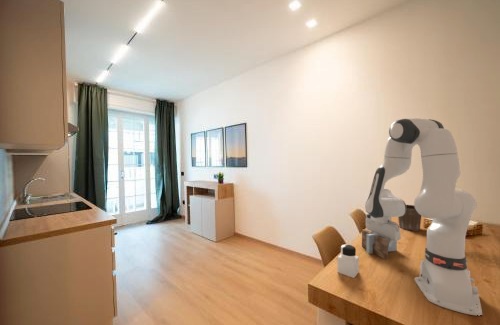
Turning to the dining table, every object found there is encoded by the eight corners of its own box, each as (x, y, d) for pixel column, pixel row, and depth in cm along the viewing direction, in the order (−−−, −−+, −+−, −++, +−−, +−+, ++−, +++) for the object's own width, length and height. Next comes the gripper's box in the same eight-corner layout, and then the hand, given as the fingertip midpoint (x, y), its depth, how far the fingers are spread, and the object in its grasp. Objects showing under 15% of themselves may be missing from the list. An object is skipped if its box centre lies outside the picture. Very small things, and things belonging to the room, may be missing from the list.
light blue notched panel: (369, 253, 113) (369, 235, 113) (366, 252, 115) (366, 234, 115) (396, 250, 117) (396, 232, 117) (393, 249, 119) (393, 231, 119)
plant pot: (390, 226, 158) (390, 205, 158) (403, 223, 165) (403, 203, 165) (415, 233, 144) (415, 210, 144) (428, 230, 151) (428, 207, 150)
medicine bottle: (359, 272, 95) (359, 245, 95) (354, 278, 90) (354, 250, 90) (342, 266, 100) (342, 241, 100) (337, 272, 95) (337, 246, 94)
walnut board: (387, 258, 107) (388, 239, 107) (384, 259, 107) (384, 239, 107) (364, 246, 123) (364, 229, 123) (361, 246, 123) (361, 229, 123)
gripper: (403, 223, 106) (403, 250, 107) (372, 213, 126) (372, 235, 127) (393, 224, 105) (393, 251, 105) (363, 213, 125) (363, 236, 125)
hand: (381, 242), depth 116 cm, fingers open, 8 cm apart
